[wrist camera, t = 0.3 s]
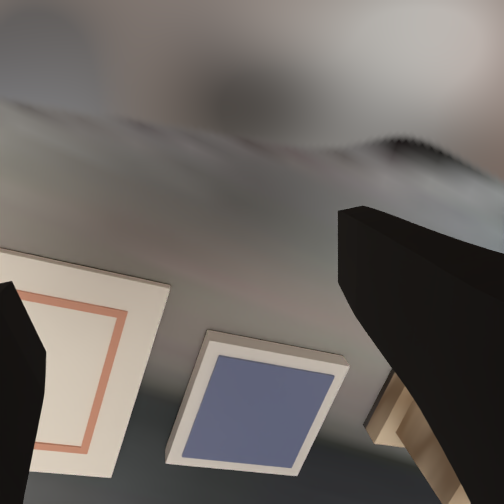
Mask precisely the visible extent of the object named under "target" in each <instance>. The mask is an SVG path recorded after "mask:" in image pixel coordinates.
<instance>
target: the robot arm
mask: <svg viewBox="0 0 504 504" xmlns="http://www.w3.org/2000/svg"><path fill="white" fill-rule="evenodd" d="M338 283H339V285H340V287H341V289H342V291H343V293H344V295H345V297H346V299H347V301H348V303H349V305H350V307H351V309H352V311H353V313H354V315H355V316H356V318H357V319H358V321H359V322H360V324H361V325H362V326H363V328H364V329H365V331H366V332H367V334H368V335H369V336H370V338H371V339H372V341H373V342H374V344H375V345H376V346H377V348H378V349H379V351H380V352H381V353H382V355H383V356H384V358H385V359H386V360H387V362H388V363H389V364H390V366H391V367H392V369H393V370H394V371H395V373H396V374H397V376H398V377H399V378H400V380H401V381H402V383H403V384H404V385H405V387H406V388H407V390H408V391H409V393H410V394H411V396H412V397H413V399H414V401H415V402H416V404H417V405H418V407H419V408H420V410H421V412H422V414H423V416H424V417H425V419H426V421H427V423H428V424H429V426H430V428H431V430H432V431H433V433H434V435H435V437H436V439H437V440H438V442H439V444H440V446H441V447H442V449H443V451H444V453H445V455H446V457H447V459H448V461H449V462H450V464H451V466H452V468H453V470H454V472H455V474H456V476H457V477H458V479H459V481H460V483H461V485H462V487H463V489H464V491H465V493H466V495H467V497H468V499H469V501H470V503H471V504H504V254H503V253H499V252H496V251H492V250H489V249H486V248H483V247H479V246H476V245H473V244H470V243H467V242H464V241H461V240H458V239H455V238H452V237H449V236H446V235H444V234H441V233H438V232H435V231H433V230H430V229H427V228H424V227H422V226H419V225H417V224H414V223H411V222H409V221H406V220H403V219H401V218H398V217H396V216H393V215H390V214H388V213H385V212H382V211H379V210H376V209H373V208H370V207H366V206H359V207H354V208H350V209H345V210H340V211H338ZM45 378H46V350H45V348H44V346H43V344H42V342H41V340H40V338H39V336H38V334H37V332H36V329H35V327H34V325H33V323H32V321H31V319H30V317H29V315H28V313H27V311H26V309H25V307H24V305H23V303H22V300H21V298H20V296H19V294H18V292H17V290H16V288H15V286H14V284H13V282H12V281H9V282H4V283H0V504H23V500H24V494H25V489H26V484H27V479H28V475H29V470H30V465H31V460H32V455H33V450H34V445H35V440H36V436H37V431H38V426H39V420H40V415H41V410H42V405H43V400H44V394H45Z"/></svg>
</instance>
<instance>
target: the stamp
mask: <svg viewBox="0 0 504 504" xmlns="http://www.w3.org/2000/svg"><path fill="white" fill-rule="evenodd" d="M363 425H364V427H365V429H366V430H367V432H368V434H369V436H370V437H371V439H372V441H373V442H374V444H381V445H389V446H397V447H404V448H406V449H407V451H408V452H409V454H410V455H411V457H412V458H413V460H414V461H415V463H416V464H417V466H418V467H419V469H420V470H421V472H422V474H423V475H424V477H425V478H426V480H427V481H428V483H429V484H430V486H431V487H432V489H433V490H434V492H435V493H436V495H437V496H438V498H439V499H440V501H441V502H442V504H471V503H470V501H469V499H468V497H467V495H466V493H465V491H464V489H463V487H462V485H461V483H460V481H459V479H458V477H457V476H456V474H455V472H454V470H453V468H452V466H451V464H450V462H449V461H448V459H447V457H446V455H445V453H444V451H443V449H442V447H441V446H440V444H439V442H438V440H437V439H436V437H435V435H434V433H433V431H432V430H431V428H430V426H429V424H428V423H427V421H426V419H425V417H424V416H423V414H422V412H421V410H420V408H419V407H418V405H417V404H416V402H415V401H414V399H413V397H412V396H411V394H410V393H409V391H408V390H407V388H406V387H405V385H404V384H403V383H402V381H401V380H400V378H399V377H398V376H397V374H396V373H395V371H394V370H393V369H392V370H391V372H390V374H389V376H388V378H387V380H386V382H385V384H384V385H383V387H382V389H381V391H380V393H379V395H378V397H377V399H376V401H375V403H374V405H373V407H372V409H371V411H370V413H369V414H368V416H367V418H366V420H365V422H364V424H363Z"/></svg>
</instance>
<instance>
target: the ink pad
mask: <svg viewBox="0 0 504 504" xmlns="http://www.w3.org/2000/svg"><path fill="white" fill-rule="evenodd" d="M349 367H350V366H349V364H348V363H347V361H346V360H345V358H344V357H343V356H342V355H337V354H332V353H326V352H321V351H316V350H311V349H305V348H300V347H295V346H290V345H285V344H279V343H274V342H269V341H264V340H259V339H253V338H248V337H243V336H238V335H233V334H227V333H222V332H217V331H212V330H207V332H206V335H205V338H204V341H203V343H202V346H201V349H200V352H199V355H198V358H197V360H196V363H195V366H194V369H193V372H192V375H191V377H190V380H189V383H188V386H187V389H186V392H185V394H184V397H183V400H182V403H181V406H180V409H179V411H178V414H177V417H176V420H175V423H174V425H173V428H172V431H171V434H170V437H169V440H168V442H167V445H166V448H165V462H166V464H175V465H186V466H196V467H207V468H217V469H228V470H238V471H249V472H259V473H270V474H280V475H291V476H297V475H298V473H299V471H300V469H301V467H302V465H303V463H304V461H305V459H306V457H307V455H308V453H309V450H310V448H311V446H312V444H313V442H314V440H315V438H316V436H317V434H318V432H319V430H320V428H321V426H322V423H323V421H324V419H325V417H326V415H327V413H328V411H329V409H330V407H331V405H332V403H333V401H334V399H335V396H336V394H337V392H338V390H339V388H340V386H341V384H342V382H343V380H344V378H345V376H346V374H347V372H348V369H349Z"/></svg>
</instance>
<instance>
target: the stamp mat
mask: <svg viewBox="0 0 504 504" xmlns="http://www.w3.org/2000/svg"><path fill="white" fill-rule="evenodd" d="M9 281H12V282H13V284H14V286H15V288H16V290H17V292H18V294H19V296H20V298H21V300H22V303H23V305H24V307H25V309H26V311H27V313H28V315H29V317H30V319H31V321H32V323H33V325H34V327H35V329H36V332H37V334H38V336H39V338H40V340H41V342H42V344H43V346H44V348H45V350H46V378H45V394H44V400H43V405H42V410H41V415H40V420H39V426H38V431H37V436H36V440H35V445H34V450H33V455H32V460H31V465H30V470H29V471H34V472H46V473H58V474H70V475H82V476H94V477H107V478H111V476H112V473H113V470H114V467H115V464H116V460H117V457H118V454H119V451H120V448H121V444H122V441H123V438H124V435H125V432H126V429H127V425H128V422H129V419H130V416H131V413H132V409H133V406H134V403H135V400H136V397H137V394H138V390H139V387H140V384H141V381H142V378H143V374H144V371H145V368H146V365H147V362H148V358H149V355H150V352H151V349H152V346H153V343H154V339H155V336H156V333H157V330H158V327H159V323H160V320H161V317H162V314H163V311H164V307H165V304H166V301H167V298H168V295H169V292H170V285H168V284H163V283H159V282H154V281H150V280H145V279H140V278H136V277H131V276H127V275H122V274H117V273H113V272H108V271H104V270H99V269H94V268H90V267H85V266H81V265H76V264H71V263H67V262H62V261H58V260H53V259H48V258H44V257H39V256H35V255H30V254H25V253H21V252H16V251H12V250H7V249H2V248H0V283H4V282H9Z"/></svg>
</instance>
